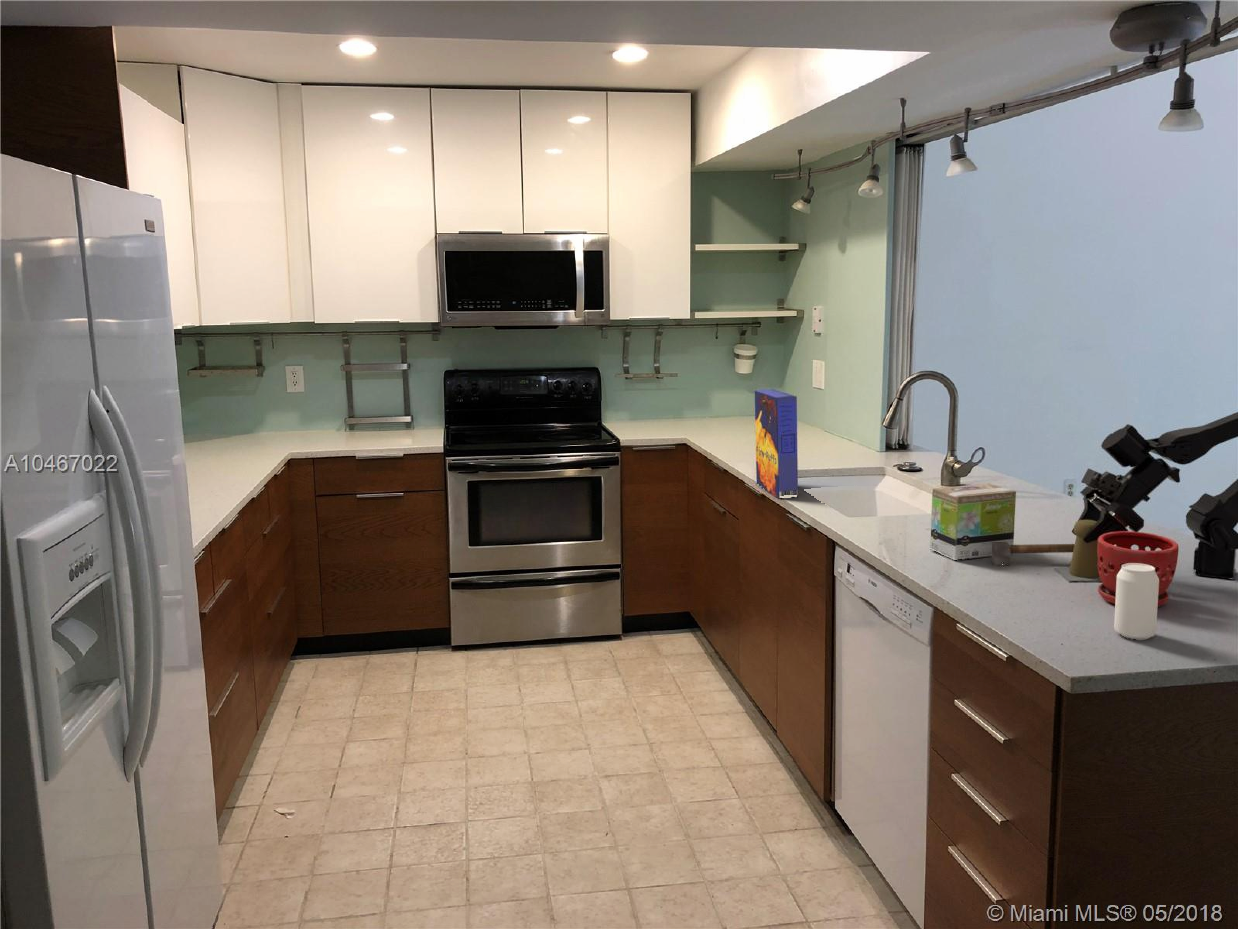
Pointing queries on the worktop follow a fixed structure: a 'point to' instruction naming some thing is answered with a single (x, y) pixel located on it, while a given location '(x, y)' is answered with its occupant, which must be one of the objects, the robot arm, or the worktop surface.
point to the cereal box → (776, 442)
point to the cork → (1084, 552)
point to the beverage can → (1136, 601)
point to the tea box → (971, 519)
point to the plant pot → (1135, 559)
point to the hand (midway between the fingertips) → (1078, 537)
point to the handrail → (1025, 550)
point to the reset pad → (1070, 577)
